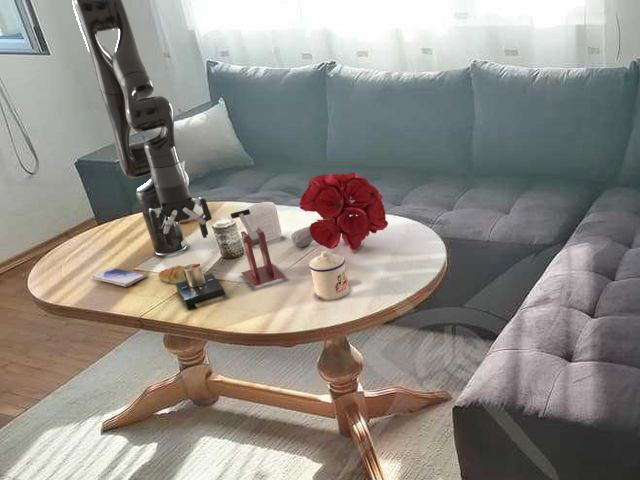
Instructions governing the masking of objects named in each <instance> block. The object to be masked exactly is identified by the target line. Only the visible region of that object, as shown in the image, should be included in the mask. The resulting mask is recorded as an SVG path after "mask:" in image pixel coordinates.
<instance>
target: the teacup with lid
mask: <svg viewBox="0 0 640 480" xmlns="http://www.w3.org/2000/svg"><path fill="white" fill-rule="evenodd" d="M345 262H346V260H345V257H344V256H342V255H341V254H337V253H330V251H328V250H322V251H321V253H320V255H318V256H315V257H313V258H312V259H311V260H310V261H309V264H308V266H309V269H310V272H311V277H312V280H313V286H314V291H315V294H316V295H317V296H318V299H321V300H325V301H326V300H327V301H332V300H336V299H337V300H338V299H340V298H342V297H345V296H346V295H347V294H348V293H349V291H350V287H349V282H348V276H347V275H348V274H347V270H346V265H345V264H346V263H345Z"/></svg>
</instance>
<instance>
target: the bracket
mask: <svg viewBox="0 0 640 480" xmlns="http://www.w3.org/2000/svg"><path fill="white" fill-rule="evenodd" d="M255 229H256V233H257V234H258V236H259V240H260V244H258V246H259V249H260V253H261V257H262V262H263V265H262V266H258V267H257V265H258V264H257V262H256V258H255V254H254V250H253V246H252V245H251V242H250V238H249V235H248V233H247V231H244V230H242V231H240V235H241V242H242V244H243V246H244V250H245V254H246V258H247V262H248V266H249V270H245V271H243V272H240V273H241V274H242V276H243V277H244V279H246V280H247V282H249V284H250V286H252V287H257V286H260V285H263V284H267V283H271V282H274V281H277V280H280V279H283V278H286V277H285V275H284V274H283V273H282V272H281V271H280V270H279V269H278V268H277V267H276V266H275V265H274V264H273V263H272V260H271V257H270V256H271V255H270V253H269V252H270V251H269V247H268V243H267V242H266V240H265V234H264V232H263V231H262V230H261V229H260V228H259V227H258V228H255Z"/></svg>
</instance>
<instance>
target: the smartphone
mask: <svg viewBox="0 0 640 480" xmlns="http://www.w3.org/2000/svg"><path fill="white" fill-rule="evenodd" d="M145 278H146V274H144V273H139V272H133V271H129V270H124V269H120V268H116V267H109V268H107V269H105V270H103V271H101V272H99V273H97V274H95V275H92V277H91V279H92V280H94V281H100V282H105V283H109V284H113V285H115V286H120V287H124V288H128V287H130V286H132V285H133V284H135V283H137V282H139V281H141V280H143V279H145Z"/></svg>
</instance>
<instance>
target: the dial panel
mask: <svg viewBox="0 0 640 480" xmlns="http://www.w3.org/2000/svg"><path fill="white" fill-rule="evenodd" d="M203 275H204V279H205V284H204V285H202V286H200V287H190V286H189V283H188V280H186V279H185V280H183V281H180V282H179V283H174V286H175V288H176V292H177V294H178V296H179V298H180V299H181V301H182V302H183V304H184V306H185V307H186V310H187V311H189V310H190V311H191V310H192V309H193V310H194V309H197V304H200V303H204V302H207V301H211V300H213V299H217V298H220V297H223V296H226V292H225V289H224V288H223V286H222V285H221V283H220V282H219V281H218V279H217V278H216V277H215V275H214V274H213V272H212V273H207V274H203Z"/></svg>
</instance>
